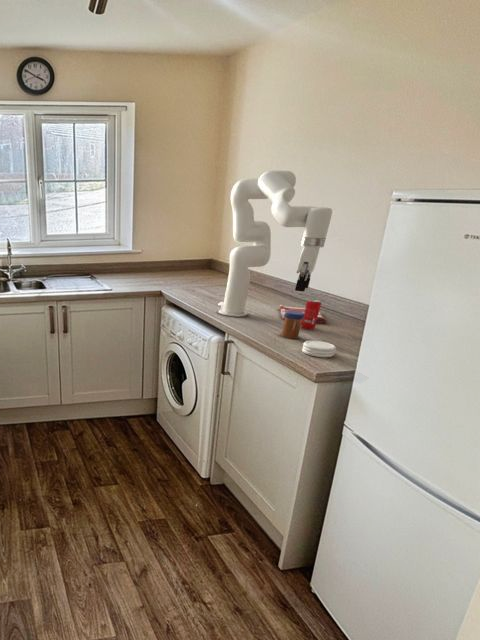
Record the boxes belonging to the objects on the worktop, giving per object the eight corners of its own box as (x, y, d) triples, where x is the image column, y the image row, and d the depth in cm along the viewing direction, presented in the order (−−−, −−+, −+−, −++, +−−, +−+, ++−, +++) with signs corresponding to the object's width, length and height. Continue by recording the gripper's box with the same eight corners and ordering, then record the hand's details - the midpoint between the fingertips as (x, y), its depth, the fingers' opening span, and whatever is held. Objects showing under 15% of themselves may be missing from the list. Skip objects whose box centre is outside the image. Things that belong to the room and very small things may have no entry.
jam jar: (277, 335, 186) (283, 312, 183) (288, 333, 188) (293, 311, 185) (290, 339, 181) (296, 316, 178) (301, 337, 183) (307, 314, 180)
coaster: (296, 352, 166) (299, 343, 165) (308, 347, 172) (310, 338, 171) (326, 360, 159) (329, 350, 158) (338, 354, 165) (340, 345, 163)
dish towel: (283, 320, 208) (284, 314, 207) (278, 308, 228) (279, 303, 227) (325, 323, 202) (327, 318, 201) (316, 312, 222) (318, 306, 221)
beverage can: (297, 327, 197) (304, 300, 192) (305, 325, 199) (312, 298, 194) (309, 330, 193) (316, 302, 188) (317, 328, 195) (324, 301, 190)
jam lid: (281, 315, 183) (282, 311, 183) (292, 314, 186) (293, 310, 185) (295, 319, 178) (296, 315, 177) (307, 318, 180) (308, 313, 179)
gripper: (305, 240, 179) (294, 285, 185) (297, 243, 166) (286, 291, 173) (327, 241, 174) (315, 287, 181) (321, 245, 162) (309, 294, 169)
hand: (301, 289), depth 177 cm, fingers open, 7 cm apart
